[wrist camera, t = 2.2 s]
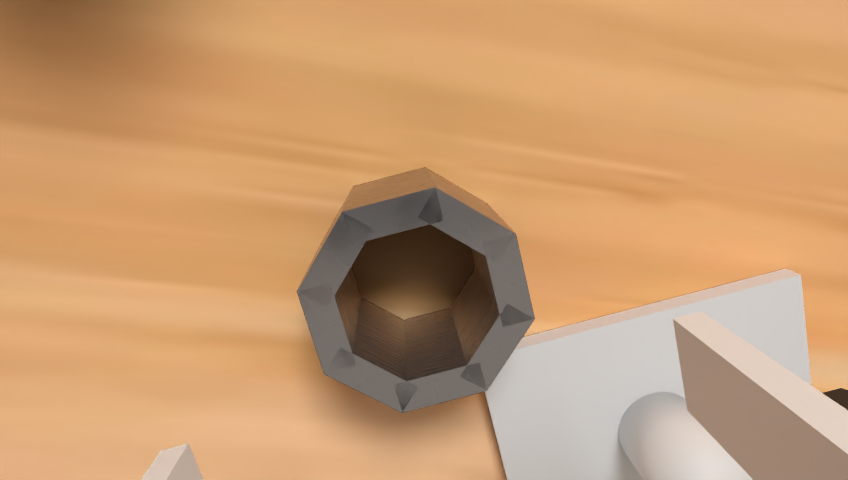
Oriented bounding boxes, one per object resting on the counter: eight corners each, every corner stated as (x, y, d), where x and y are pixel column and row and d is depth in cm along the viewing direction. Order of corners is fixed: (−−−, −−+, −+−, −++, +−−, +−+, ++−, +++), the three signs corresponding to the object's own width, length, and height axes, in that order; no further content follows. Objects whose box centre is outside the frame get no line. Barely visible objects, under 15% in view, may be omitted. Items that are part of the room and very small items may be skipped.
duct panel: (524, 550, 35) (558, 662, 28) (473, 350, 32) (497, 420, 25) (806, 477, 35) (910, 571, 28) (785, 268, 31) (898, 315, 24)
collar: (353, 357, 31) (342, 428, 24) (303, 199, 29) (276, 229, 22) (513, 315, 31) (547, 374, 24) (475, 153, 29) (501, 169, 22)
